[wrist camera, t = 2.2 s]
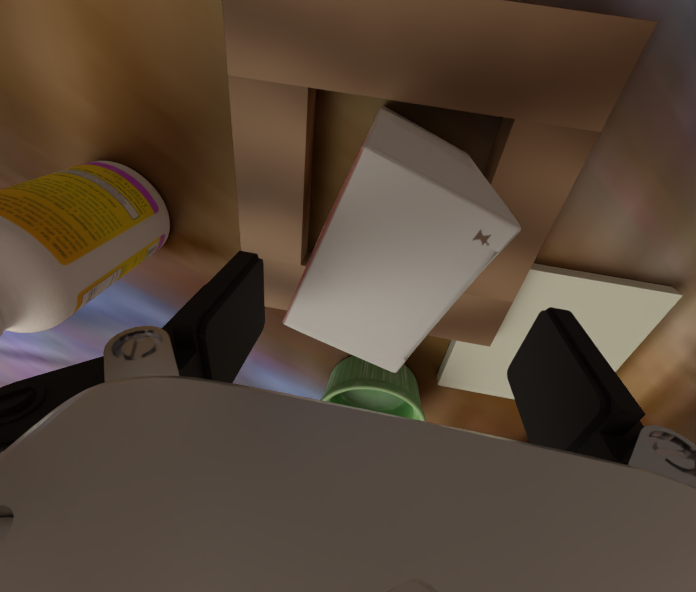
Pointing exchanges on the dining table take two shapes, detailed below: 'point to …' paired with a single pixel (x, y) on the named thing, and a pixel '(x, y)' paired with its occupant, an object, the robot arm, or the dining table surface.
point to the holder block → (425, 89)
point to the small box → (399, 244)
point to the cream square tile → (569, 294)
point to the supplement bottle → (73, 240)
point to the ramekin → (374, 388)
